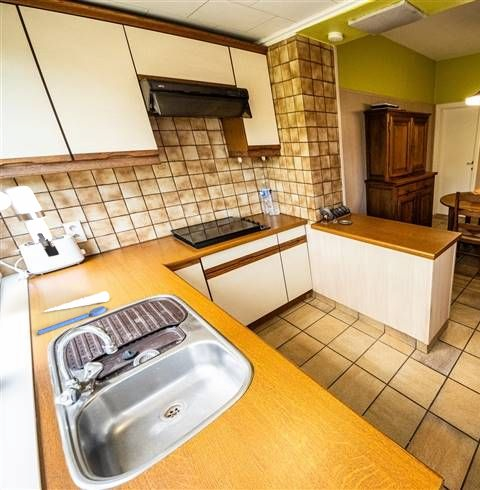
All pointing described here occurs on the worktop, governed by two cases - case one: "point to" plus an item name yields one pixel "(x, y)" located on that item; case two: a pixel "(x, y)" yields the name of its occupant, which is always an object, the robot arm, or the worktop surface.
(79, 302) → the unicorn horn
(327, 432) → the worktop surface
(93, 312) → the blue spoon
